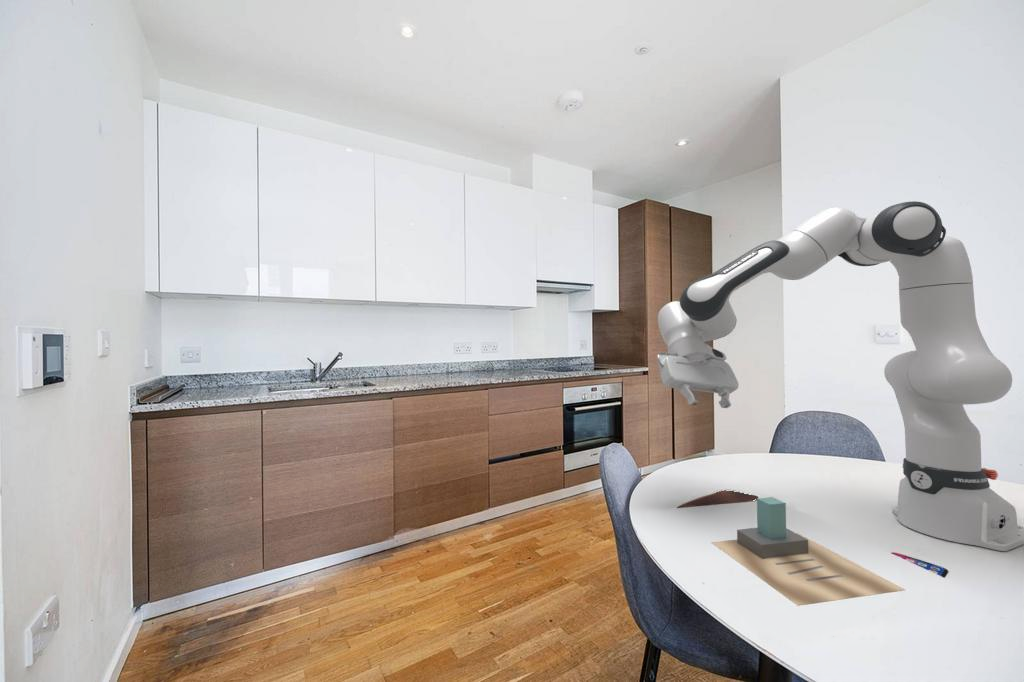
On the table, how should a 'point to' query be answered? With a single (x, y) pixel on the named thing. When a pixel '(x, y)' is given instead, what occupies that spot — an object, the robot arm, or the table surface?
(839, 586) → the board
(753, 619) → the table surface
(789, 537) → the sanding block
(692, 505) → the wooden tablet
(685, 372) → the robot arm
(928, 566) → the blue red thin stick
